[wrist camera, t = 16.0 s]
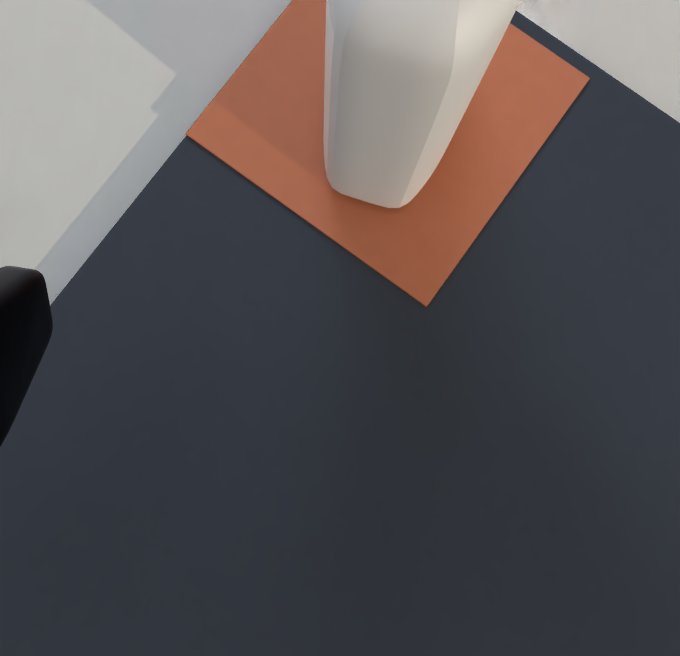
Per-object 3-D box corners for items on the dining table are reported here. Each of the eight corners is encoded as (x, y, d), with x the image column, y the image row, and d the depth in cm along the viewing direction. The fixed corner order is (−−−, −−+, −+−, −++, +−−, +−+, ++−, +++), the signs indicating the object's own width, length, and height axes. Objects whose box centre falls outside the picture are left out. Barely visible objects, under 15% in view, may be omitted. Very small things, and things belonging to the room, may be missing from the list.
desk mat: (949, 316, 17) (964, 315, 17) (487, 1093, 15) (492, 1111, 14) (367, -85, 18) (368, -95, 18) (-168, 584, 16) (-180, 589, 15)
